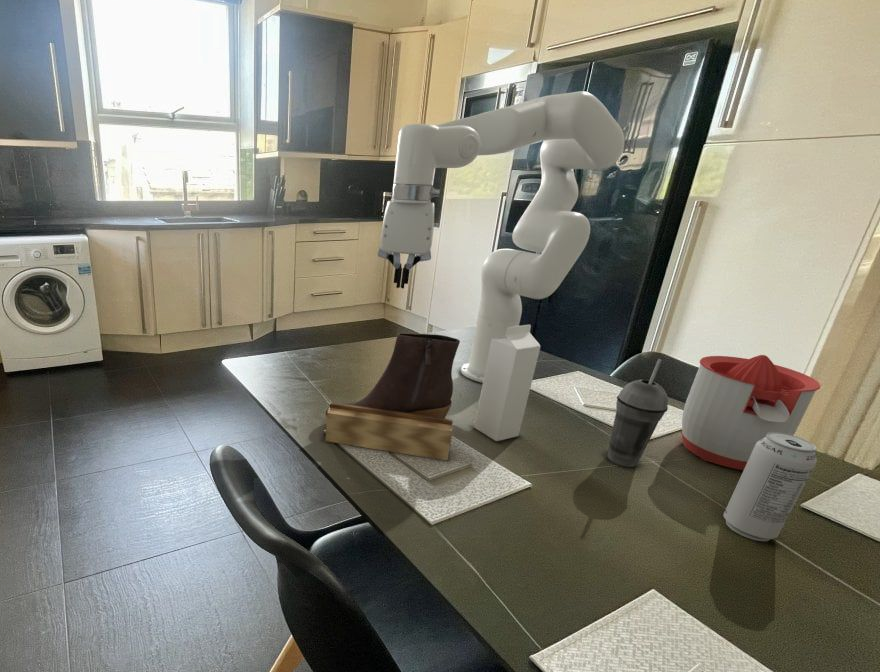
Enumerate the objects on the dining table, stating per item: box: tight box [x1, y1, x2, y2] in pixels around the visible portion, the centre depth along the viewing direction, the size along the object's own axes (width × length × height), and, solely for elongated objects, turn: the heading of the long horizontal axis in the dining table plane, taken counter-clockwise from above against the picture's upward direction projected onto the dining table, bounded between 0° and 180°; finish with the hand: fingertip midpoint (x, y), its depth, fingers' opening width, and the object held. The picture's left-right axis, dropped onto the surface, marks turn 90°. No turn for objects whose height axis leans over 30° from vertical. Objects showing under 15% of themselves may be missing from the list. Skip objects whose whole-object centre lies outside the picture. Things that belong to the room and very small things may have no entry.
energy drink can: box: [723, 432, 818, 542], centre depth 68 cm, size 6×6×15 cm
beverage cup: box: [607, 358, 669, 468], centre depth 84 cm, size 7×7×20 cm
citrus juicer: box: [680, 354, 821, 471], centre depth 86 cm, size 16×17×20 cm
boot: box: [323, 332, 461, 423], centre depth 93 cm, size 9×24×20 cm, turn 88°
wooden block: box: [324, 401, 454, 461], centre depth 89 cm, size 22×3×7 cm, turn 75°
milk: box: [473, 324, 541, 442], centre depth 92 cm, size 6×6×22 cm
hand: (400, 286), depth 102 cm, fingers closed
